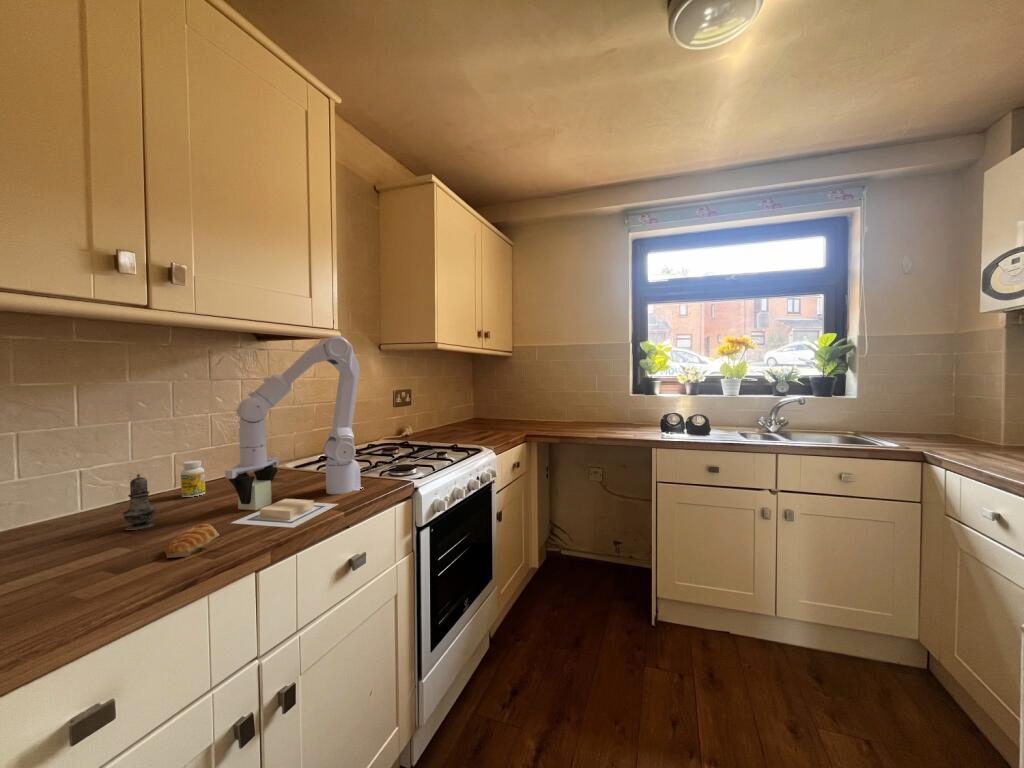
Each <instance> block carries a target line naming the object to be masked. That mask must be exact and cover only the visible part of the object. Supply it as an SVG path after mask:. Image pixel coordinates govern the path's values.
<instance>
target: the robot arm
mask: <svg viewBox="0 0 1024 768" xmlns="http://www.w3.org/2000/svg"><path fill="white" fill-rule="evenodd" d="M325 361H326V362H328V363H330V364H331V365H332V366H333V367H334V368H335V369H336V370H337V371H338V372H339V373H338V374H339V376H338V381H337V382H338V383H337V389H336V390H337V391H336V398H335V406H334V411H333V412H334V413H333V421H332V427H331V429H330V430H329V432H328V437H327V439H326V441H325V442H324V444H323V450H322V451H323V454H324V455H325V457H327V458H326V461H325V486H326V487H325V489H326V494H329V495H342V494H343V495H344V494H348V493H350V492H354V491H359V490H360V489H362V488H363V489H364V487H363V486H362V485H361V481H362V480H361V466H360V464H359V462H358V461H357V460H355V459H354V458H355V457H356V452H357V449H356V446H355V434H354V432H353V422H354V415H355V408H356V407H355V406H356V399H357V391H358V386H359V385H358V383H359V375H360V364H359V362H358V360H357V357H356V356H355V353H354V347H353V345H352V344H351V343H350V342H349V341H348V339H346V338H345V337H343V336H341V335H333V336H331V337H327V338H326V337H325V338H322V339H321V340H319V342H318V343H315V344H314V345H312V346H311V347H310V348H308V349H307V350H306V351H305V352H303V354H302V355H301V356H300V357H298V358H297V360H295V361H294V362H292V364H291V365H290V366H289V367H287V369H285V371H284V372H283V373H281V374H280V375H279V374H274V375H271V376H270V377H269V376H267V377H265V378H264V379H263V380H262V381H263V383H262V384H261V385H260V386H259V387H258V388H256V389H255V390H254V391H250V392H249V393H248V394H247V395H248V396H249V397H248V398H244V399H242V400H241V401H240V402H239V403H238V404H237V407H236V408H237V409H236V410H235V412H236V414H237V416H238V417H239V421H238V425H239V429H238V439H239V441H238V442H239V446H238V447H239V463H237V465H236V466H234V467H232V468H227V469H225V471H224V474H225V475H224V476H225V477H224V478H225V479H228V481H229V483H231V484H232V486H233V487H234V489H235V491H236V494H237V497H238V496H239V499H240V501H241V504H250V502H251V489H252V484H253V480H269V481H271V484H272V483H273V480H274V478H275V476H276V474H277V473H278V467H276V466H279V465H280V458H279V457H269V458H268V449H267V445H268V444H267V427H266V417H267V415H268V413H269V409H273V408H274V407H275V406H276V405H277V404H278V403H279V402H280V401H281V400H282V399H283V398H285V397H286V396H287V395H288V394H289V393H290V392H291V391H292V383H293V382H295V381H296V380H297V379H299V377H300V376H302V375H303V374H304V373H305V372H307V371H308V370H309V369H310V368H311V367H312V366H313V365H315V364H317V363H321V362H325ZM250 473H254V475H250ZM255 478H256V479H255ZM363 489H362V490H363ZM360 491H361V490H360Z"/></svg>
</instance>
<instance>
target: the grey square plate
mask: <svg viewBox="0 0 1024 768" xmlns="http://www.w3.org/2000/svg"><path fill="white" fill-rule="evenodd" d="M338 505H339V503H329V502H328V503H325V502H314V509H312V510H310V511H308V512H306V513H304V514H301V515H299V516H297V517H295V518H293V519H291V520H285V519H271V518H260V510H258V511H256V512H254V513H251V514H249V515H246V516H244V517H241V518H239V519H237V520H234V521H231V522H230V524H237V525H239V524H240V525H250V526H265V527H275V528H276V527H277V528H278V527H279V528H290V529H291V528H293V529H294V528H295V527H298V526H299V525H301V524H303V523H305V522H307V521H309V520H312V519H313V518H316V517H317V516H319V515H321V514H322V513H324V512H326V511H328V510H330V509H332V508H334V507H336V506H338Z"/></svg>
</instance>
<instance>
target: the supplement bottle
mask: <svg viewBox="0 0 1024 768" xmlns="http://www.w3.org/2000/svg"><path fill="white" fill-rule="evenodd" d="M182 463H183V464H182V467H183V468H184V469H183V470H181V471H180V488H181V489H180V490H181V493H180V494H181V497H182V498H183V497H193V498H195V497H194V496H198V497H200V496H199V495H202V496H204V495H205V494H206V478H205V476H206V474H205V469H204V468H203V467H202V460H189V461H185V462H182ZM203 494H204V495H203Z"/></svg>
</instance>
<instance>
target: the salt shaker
mask: <svg viewBox="0 0 1024 768" xmlns="http://www.w3.org/2000/svg"><path fill="white" fill-rule="evenodd" d="M129 486H130V487H129V489H130V490H129V491H130V494H128V497H129V499H130V500H129V501H130V502H129V504H130V505H129V508H128V509H127V510H125V511H123V512H122V513H121V516H123V519H124V520H125V522H126V523H128V524H129V525H127V526H126V527H127V529H142V530H144V529H143V528H146V529H148V527H149V528H152V527H153V525H154V526H155V525H157V523H156V522H155V521H153V520H152V519H153V517H155V514H156V510H157V509H158V507H157V506H152V505H151V504H150V502H149V494H150V493H151V492H150V491H148V479H147V478H146V477H141V474H140V473H137V475H136V477H135V478H133V479H132V480H131V481H130V482H129ZM151 526H152V527H151Z"/></svg>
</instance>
